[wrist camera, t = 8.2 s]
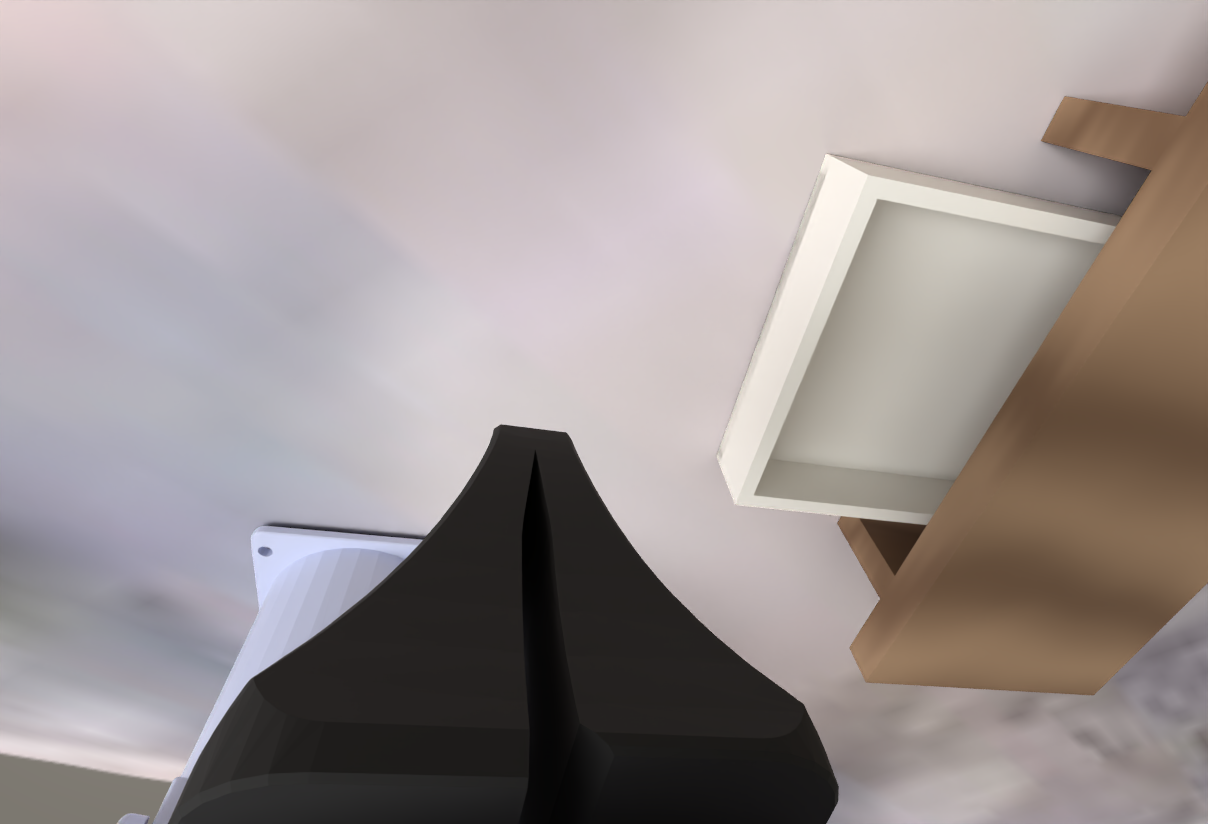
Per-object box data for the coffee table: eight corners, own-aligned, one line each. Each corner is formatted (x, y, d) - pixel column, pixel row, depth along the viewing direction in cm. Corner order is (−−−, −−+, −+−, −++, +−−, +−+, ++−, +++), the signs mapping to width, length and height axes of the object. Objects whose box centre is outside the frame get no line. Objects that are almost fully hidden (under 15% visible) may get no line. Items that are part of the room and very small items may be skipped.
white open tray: (1053, 495, 26) (1102, 543, 24) (716, 456, 24) (735, 505, 21) (1242, 241, 21) (1331, 271, 18) (826, 153, 18) (868, 174, 16)
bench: (1007, 587, 29) (1093, 695, 25) (812, 570, 28) (865, 682, 23) (1414, 64, 18) (1713, 83, 13) (1126, -22, 16) (1356, -34, 12)
